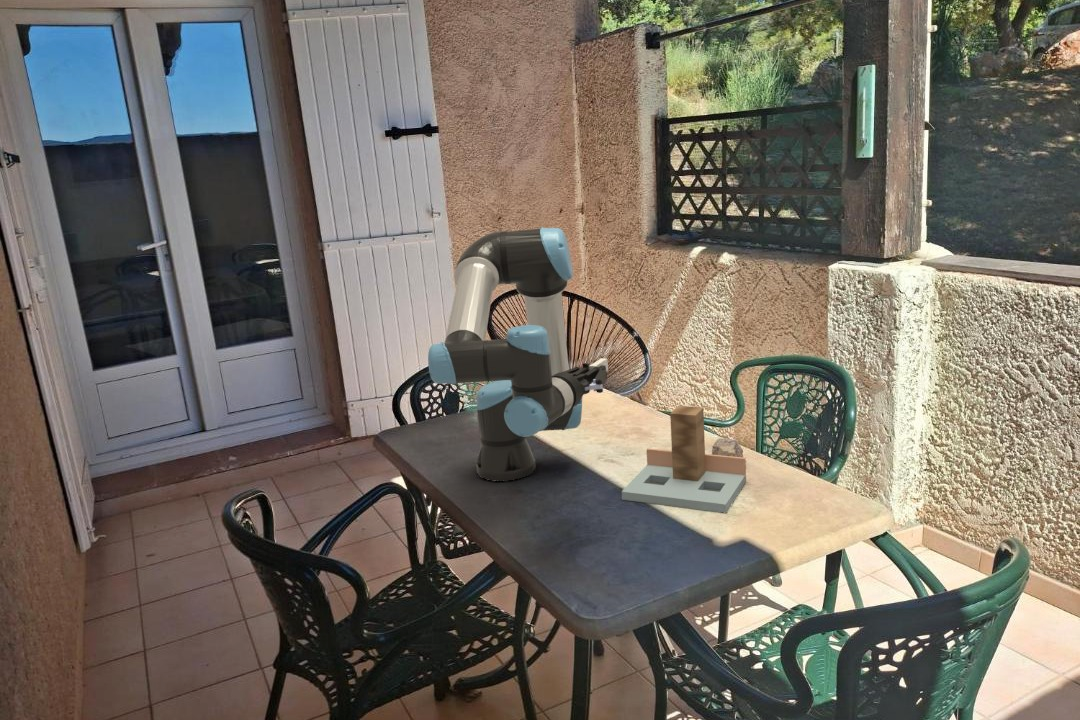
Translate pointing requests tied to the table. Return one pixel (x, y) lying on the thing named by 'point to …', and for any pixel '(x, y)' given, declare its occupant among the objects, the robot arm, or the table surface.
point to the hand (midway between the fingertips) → (604, 364)
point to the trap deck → (688, 483)
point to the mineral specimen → (727, 448)
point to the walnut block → (688, 443)
